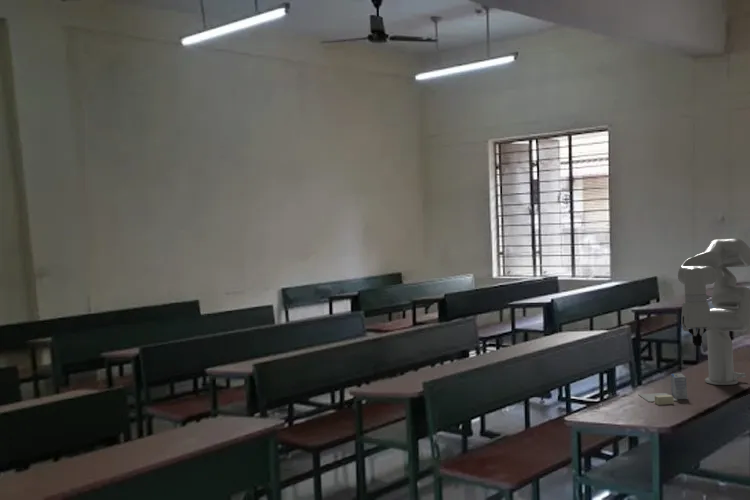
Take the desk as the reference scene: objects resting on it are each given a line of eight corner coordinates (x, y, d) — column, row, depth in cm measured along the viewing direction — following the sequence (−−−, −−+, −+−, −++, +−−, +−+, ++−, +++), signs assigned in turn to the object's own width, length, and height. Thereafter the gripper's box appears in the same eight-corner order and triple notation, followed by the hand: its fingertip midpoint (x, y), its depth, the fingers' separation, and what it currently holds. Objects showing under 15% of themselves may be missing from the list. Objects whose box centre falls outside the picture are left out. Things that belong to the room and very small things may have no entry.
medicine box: (687, 399, 276) (686, 377, 275) (675, 399, 276) (674, 377, 276) (683, 394, 283) (682, 373, 283) (671, 394, 284) (670, 373, 284)
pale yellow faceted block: (670, 402, 273) (669, 394, 273) (673, 404, 270) (673, 396, 270) (654, 403, 273) (654, 395, 273) (658, 405, 270) (658, 397, 270)
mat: (666, 393, 286) (666, 392, 286) (677, 400, 274) (677, 399, 274) (638, 395, 286) (638, 394, 286) (648, 402, 274) (648, 401, 274)
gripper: (710, 297, 282) (712, 343, 282) (672, 298, 283) (674, 344, 283) (719, 298, 275) (721, 346, 275) (679, 300, 275) (681, 347, 276)
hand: (697, 345), depth 279 cm, fingers closed
